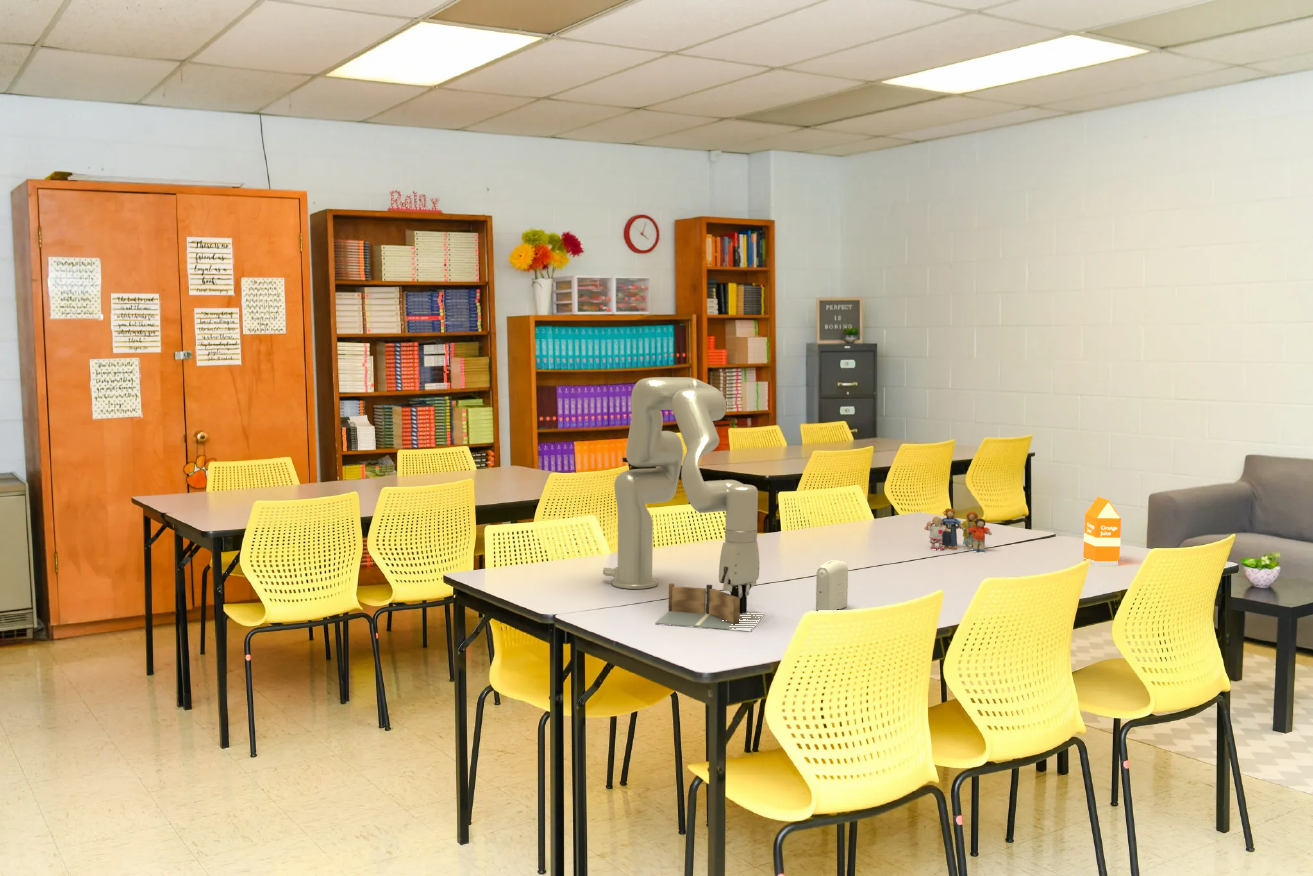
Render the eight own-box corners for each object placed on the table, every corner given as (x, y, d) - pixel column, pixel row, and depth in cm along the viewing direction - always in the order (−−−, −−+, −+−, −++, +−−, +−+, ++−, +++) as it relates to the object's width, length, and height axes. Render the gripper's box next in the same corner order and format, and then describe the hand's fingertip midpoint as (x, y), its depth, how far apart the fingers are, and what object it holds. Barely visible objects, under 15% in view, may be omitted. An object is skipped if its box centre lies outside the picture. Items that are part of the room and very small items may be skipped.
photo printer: (828, 614, 276) (829, 564, 275) (813, 611, 279) (814, 562, 278) (849, 607, 284) (850, 559, 283) (834, 604, 286) (836, 556, 285)
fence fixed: (667, 611, 276) (668, 582, 276) (669, 609, 278) (669, 581, 277) (711, 614, 273) (711, 586, 273) (712, 613, 275) (712, 584, 274)
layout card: (654, 624, 264) (654, 622, 264) (674, 607, 282) (674, 605, 282) (751, 631, 258) (751, 630, 258) (765, 614, 276) (765, 612, 276)
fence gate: (708, 613, 273) (709, 589, 273) (713, 612, 274) (713, 588, 273) (735, 624, 263) (736, 598, 262) (740, 623, 264) (741, 598, 263)
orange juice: (1107, 560, 351) (1110, 496, 349) (1119, 565, 342) (1122, 500, 340) (1082, 560, 351) (1085, 496, 349) (1094, 565, 342) (1097, 500, 340)
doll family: (923, 550, 365) (924, 509, 364) (923, 544, 374) (924, 505, 373) (991, 553, 361) (993, 512, 359) (989, 548, 370) (991, 508, 369)
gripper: (749, 531, 275) (748, 604, 277) (708, 538, 265) (706, 614, 266) (773, 535, 270) (771, 610, 271) (731, 542, 259) (730, 620, 261)
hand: (739, 612), depth 269 cm, fingers closed
